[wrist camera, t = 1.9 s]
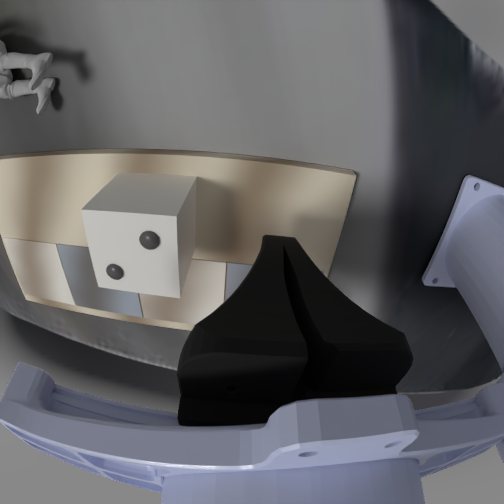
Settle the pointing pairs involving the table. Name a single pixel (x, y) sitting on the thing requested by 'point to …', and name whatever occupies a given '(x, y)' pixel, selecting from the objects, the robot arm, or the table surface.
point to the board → (207, 224)
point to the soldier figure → (6, 88)
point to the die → (143, 232)
